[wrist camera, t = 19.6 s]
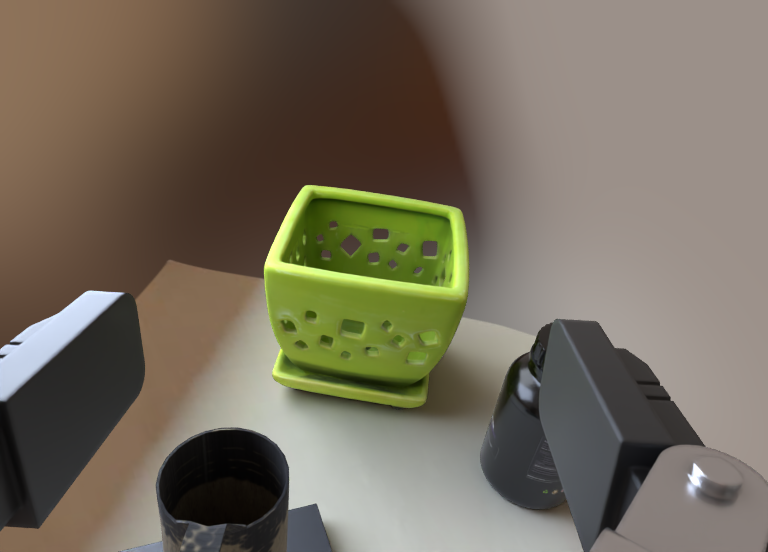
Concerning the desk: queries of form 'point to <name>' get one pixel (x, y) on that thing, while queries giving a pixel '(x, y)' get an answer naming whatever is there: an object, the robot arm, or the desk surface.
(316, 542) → the scale
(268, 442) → the mug
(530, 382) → the supplement bottle
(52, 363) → the robot arm
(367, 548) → the desk surface
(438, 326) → the flower pot
